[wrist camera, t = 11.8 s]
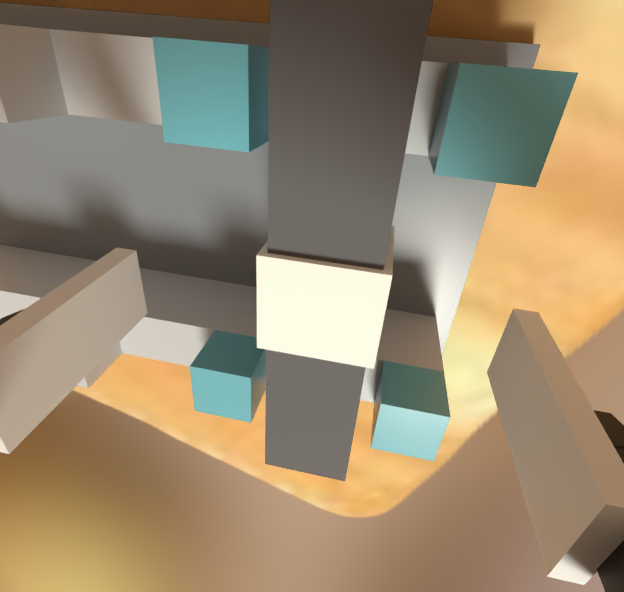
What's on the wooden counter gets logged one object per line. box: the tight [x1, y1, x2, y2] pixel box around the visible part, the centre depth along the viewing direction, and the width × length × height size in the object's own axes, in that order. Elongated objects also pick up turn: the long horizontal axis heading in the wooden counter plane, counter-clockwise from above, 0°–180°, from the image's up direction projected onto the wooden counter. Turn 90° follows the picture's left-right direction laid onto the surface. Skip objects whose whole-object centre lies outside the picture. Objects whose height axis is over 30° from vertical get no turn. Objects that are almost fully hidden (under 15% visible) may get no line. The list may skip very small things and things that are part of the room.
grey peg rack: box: [0, 3, 578, 461], centre depth 20 cm, size 18×32×9 cm, turn 86°
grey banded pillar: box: [256, 0, 433, 481], centre depth 16 cm, size 19×5×5 cm, turn 176°
